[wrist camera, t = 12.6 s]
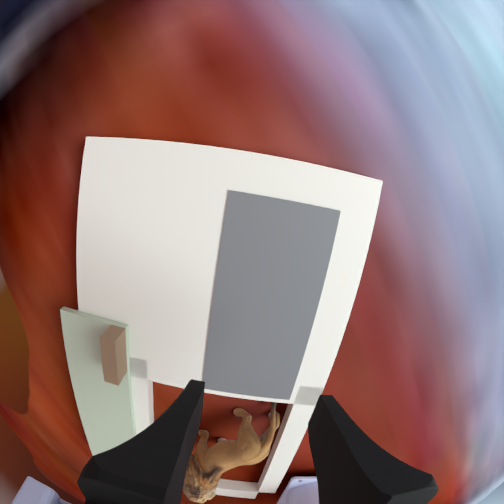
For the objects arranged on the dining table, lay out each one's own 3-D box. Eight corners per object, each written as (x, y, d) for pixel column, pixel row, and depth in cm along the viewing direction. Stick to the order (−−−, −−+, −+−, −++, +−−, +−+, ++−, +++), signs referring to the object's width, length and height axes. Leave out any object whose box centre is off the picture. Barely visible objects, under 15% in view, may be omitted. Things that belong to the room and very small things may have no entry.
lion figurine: (214, 458, 26) (207, 512, 19) (180, 441, 25) (166, 496, 18) (293, 403, 24) (303, 466, 17) (256, 380, 23) (256, 447, 16)
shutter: (128, 324, 20) (114, 341, 18) (141, 468, 25) (136, 485, 22) (63, 306, 20) (46, 319, 17) (94, 453, 25) (87, 467, 22)
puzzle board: (374, 180, 19) (383, 181, 17) (270, 490, 28) (271, 500, 26) (96, 138, 18) (85, 136, 17) (113, 460, 27) (109, 469, 25)
